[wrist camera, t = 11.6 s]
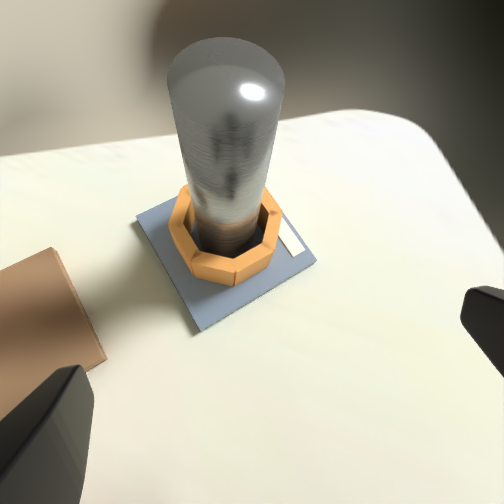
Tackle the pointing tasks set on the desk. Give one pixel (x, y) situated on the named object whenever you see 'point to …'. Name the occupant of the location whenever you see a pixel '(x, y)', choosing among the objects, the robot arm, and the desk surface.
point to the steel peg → (226, 135)
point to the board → (40, 327)
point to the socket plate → (208, 293)
